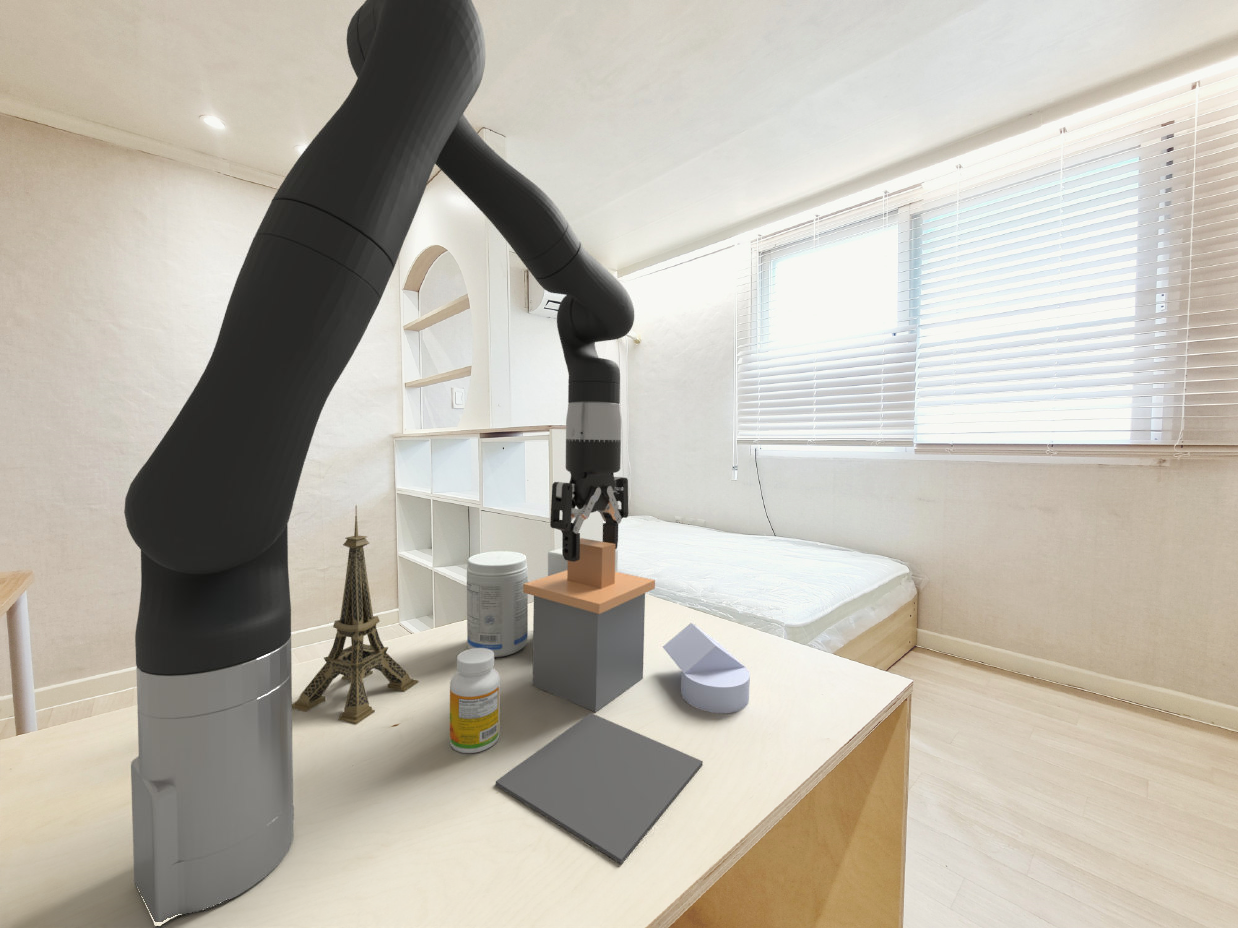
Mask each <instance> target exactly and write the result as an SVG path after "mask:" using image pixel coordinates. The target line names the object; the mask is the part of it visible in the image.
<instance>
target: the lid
mask: <svg viewBox="0 0 1238 928" xmlns="http://www.w3.org/2000/svg"><path fill="white" fill-rule="evenodd" d="M615 545H616V544H613V543H607V542H603V541H600V540H594V539H588V538H582V537H580V559H579V560H578V561H575V562H572V561H568V568H567V570H566V571H563V572H560V573H557V574H553V575H550V576H548V575H547V576H544V577H542V578H538V579H535V580H532V581H529V582H528V583H525V584H523V593H527V594H528V595H531V596H533V597H534V596H537V597H541V598H544V599H548V600H551V601H555V602H559V603H562V604H566V605H569V606H573V607H576V608H580V609H584V610H587V611H591V612H594V613H598V614H600V613H603V612H605V611H607V610H609V609H611V608H613V607H616V606H618V605H620V604H622V603H624V602H626V601H629V600H631V599H633V598H635V597H637V596H639V595H642V594H644V593H645V594H646V593H648V592H649V591H652V590H655V589H656V580H655V579H651V578H648V577H642V576H638V575H633V574H629V573H623V572H621V571H619V572H618V571H617V572H615V550H616V549H615Z"/></svg>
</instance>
